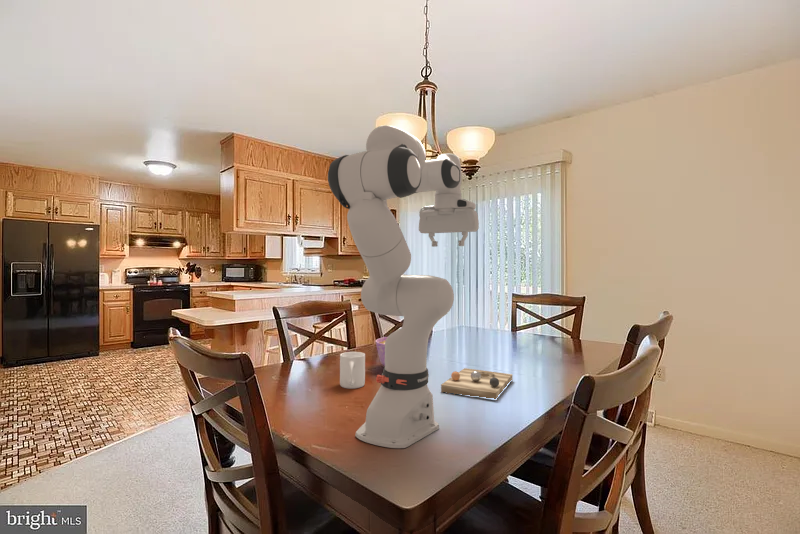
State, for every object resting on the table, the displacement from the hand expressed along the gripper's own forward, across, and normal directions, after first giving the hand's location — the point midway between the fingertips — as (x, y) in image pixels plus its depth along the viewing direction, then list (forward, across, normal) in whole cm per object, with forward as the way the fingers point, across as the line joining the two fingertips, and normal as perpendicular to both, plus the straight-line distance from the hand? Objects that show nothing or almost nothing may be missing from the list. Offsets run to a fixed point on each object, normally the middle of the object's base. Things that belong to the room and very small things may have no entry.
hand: (447, 246), depth 132 cm
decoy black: (+44, +15, +3) cm, 47 cm away
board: (+48, +8, +9) cm, 50 cm away
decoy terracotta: (+44, +2, +4) cm, 44 cm away
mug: (+48, -30, -12) cm, 58 cm away
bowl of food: (+48, -26, +16) cm, 57 cm away
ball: (+44, +8, +6) cm, 45 cm away
